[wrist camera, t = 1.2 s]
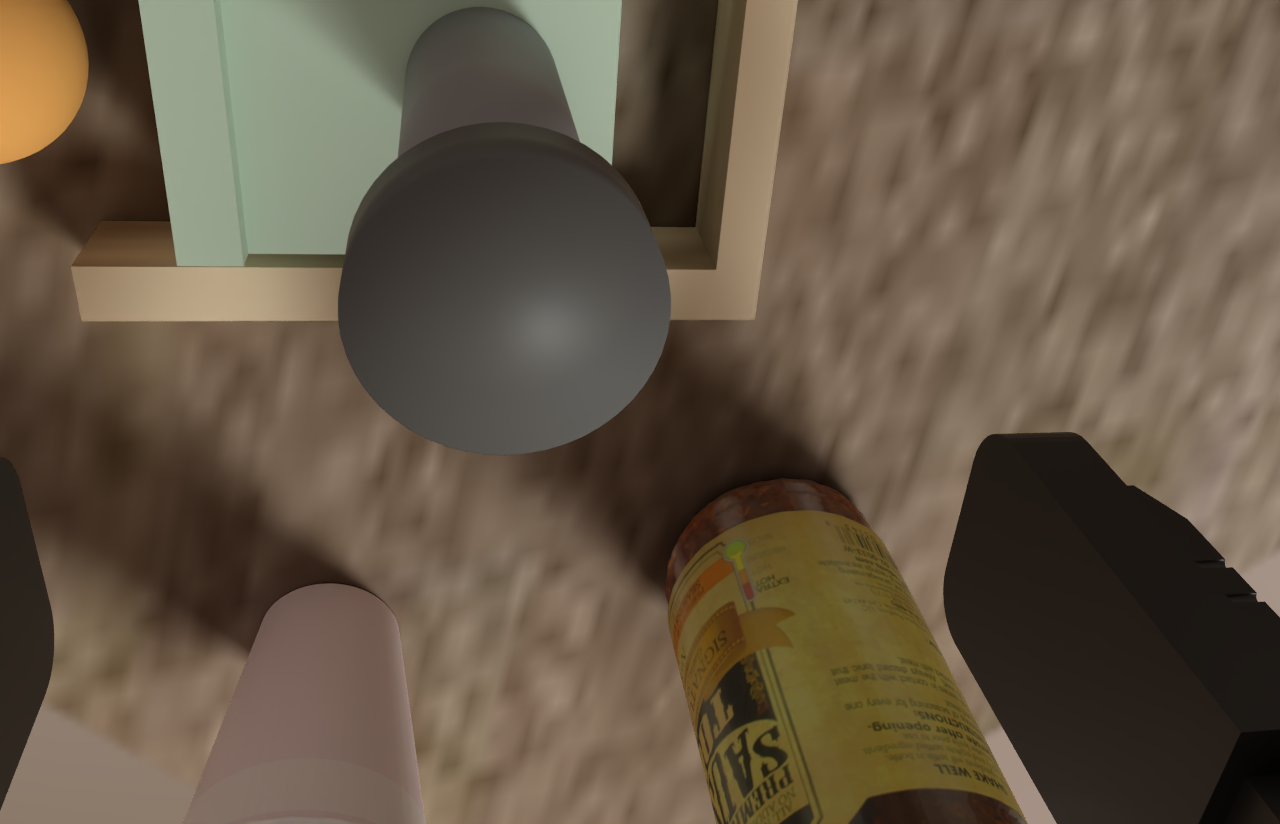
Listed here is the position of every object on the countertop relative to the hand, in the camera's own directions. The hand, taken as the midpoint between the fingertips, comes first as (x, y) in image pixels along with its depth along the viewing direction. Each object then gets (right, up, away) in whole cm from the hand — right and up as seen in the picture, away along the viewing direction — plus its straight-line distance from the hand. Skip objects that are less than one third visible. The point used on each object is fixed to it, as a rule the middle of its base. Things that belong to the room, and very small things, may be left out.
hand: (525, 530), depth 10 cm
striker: (-4, +9, +14) cm, 17 cm away
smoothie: (-8, -5, +22) cm, 24 cm away
